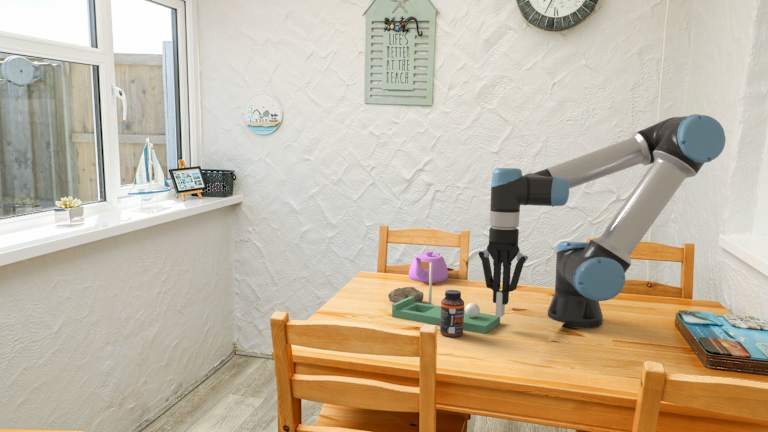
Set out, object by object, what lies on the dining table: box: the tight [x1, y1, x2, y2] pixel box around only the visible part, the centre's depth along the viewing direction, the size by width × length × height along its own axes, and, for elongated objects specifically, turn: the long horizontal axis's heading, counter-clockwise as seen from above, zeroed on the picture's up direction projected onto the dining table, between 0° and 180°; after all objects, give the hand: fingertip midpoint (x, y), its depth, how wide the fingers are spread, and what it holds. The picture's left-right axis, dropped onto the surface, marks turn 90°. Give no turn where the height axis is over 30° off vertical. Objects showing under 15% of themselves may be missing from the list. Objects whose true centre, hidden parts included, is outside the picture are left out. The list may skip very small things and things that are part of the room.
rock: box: [388, 286, 425, 304], centre depth 181 cm, size 8×11×4 cm
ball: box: [464, 302, 481, 318], centre depth 160 cm, size 4×4×4 cm
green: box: [391, 296, 501, 335], centre depth 165 cm, size 28×11×4 cm, turn 59°
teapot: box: [408, 250, 449, 284], centre depth 210 cm, size 13×20×11 cm
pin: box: [421, 261, 433, 305], centre depth 174 cm, size 5×3×14 cm, turn 59°
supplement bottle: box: [439, 289, 465, 338], centre depth 152 cm, size 6×6×11 cm
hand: (499, 315), depth 156 cm, fingers closed
